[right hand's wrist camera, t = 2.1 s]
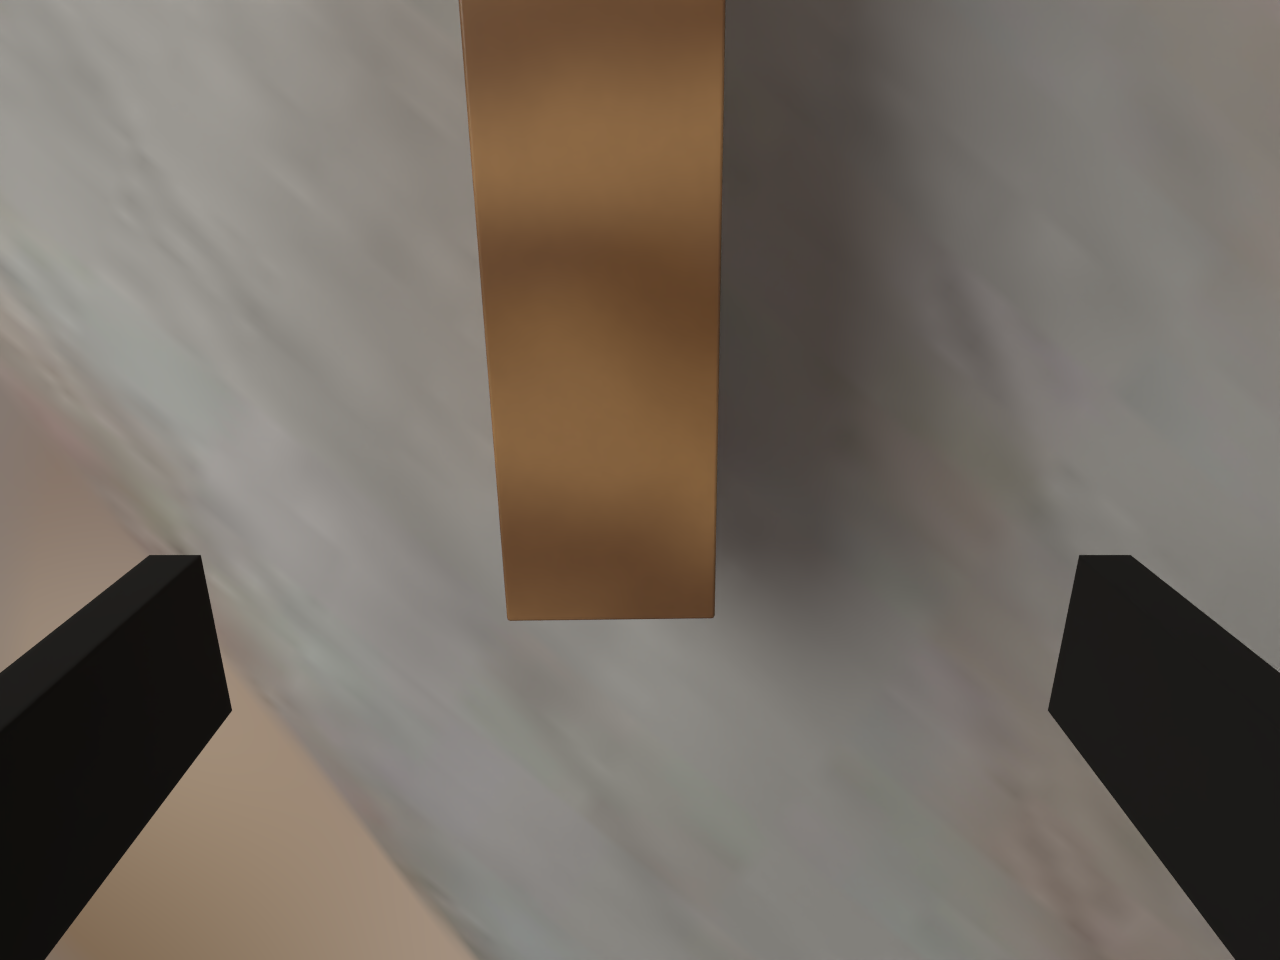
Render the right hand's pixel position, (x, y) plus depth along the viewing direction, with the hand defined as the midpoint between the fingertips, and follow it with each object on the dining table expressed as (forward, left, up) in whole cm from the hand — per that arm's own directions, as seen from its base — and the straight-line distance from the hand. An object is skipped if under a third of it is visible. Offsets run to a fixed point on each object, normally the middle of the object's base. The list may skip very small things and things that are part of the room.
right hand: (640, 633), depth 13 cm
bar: (+7, +5, -16) cm, 18 cm away
